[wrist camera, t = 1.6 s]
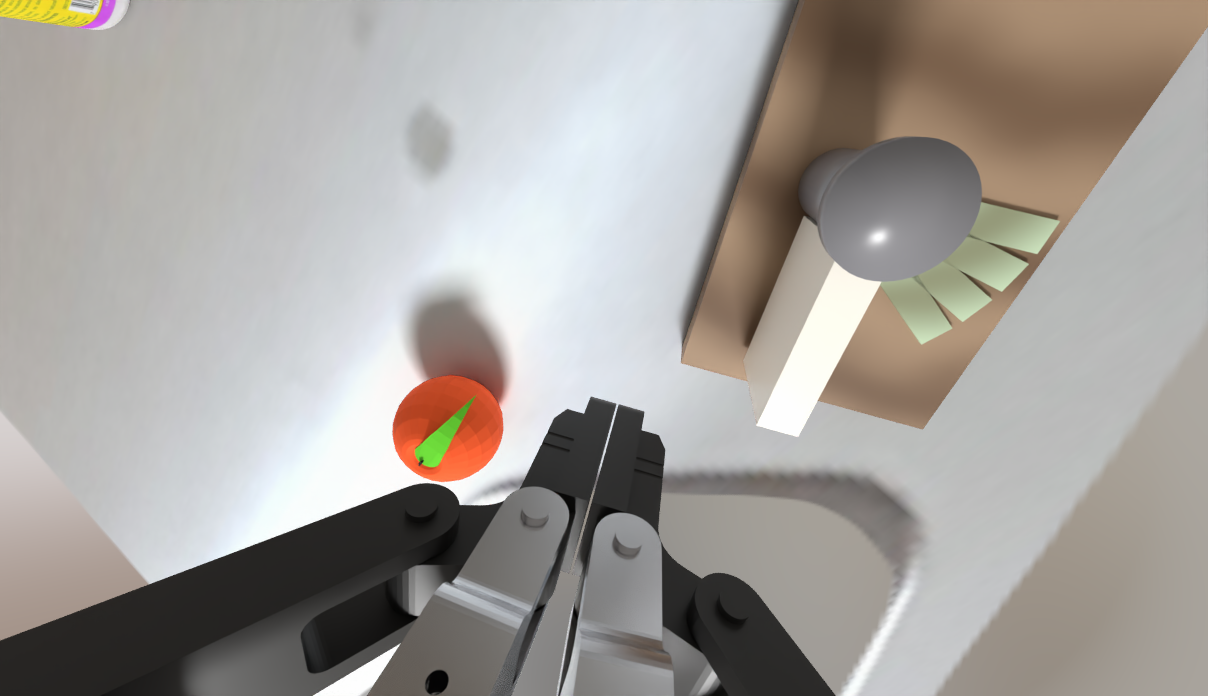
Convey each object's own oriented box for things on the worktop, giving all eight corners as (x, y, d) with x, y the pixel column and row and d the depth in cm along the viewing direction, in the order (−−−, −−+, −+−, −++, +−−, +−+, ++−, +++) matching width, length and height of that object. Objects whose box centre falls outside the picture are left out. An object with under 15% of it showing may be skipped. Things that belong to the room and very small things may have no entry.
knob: (808, 122, 19) (862, 121, 13) (910, 146, 19) (1015, 156, 13) (719, 351, 25) (728, 428, 19) (797, 372, 25) (833, 457, 18)
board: (822, -70, 18) (837, -94, 16) (1179, 3, 17) (1239, -12, 15) (682, 348, 28) (680, 364, 26) (907, 409, 27) (924, 431, 25)
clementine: (462, 328, 30) (401, 381, 24) (544, 389, 31) (506, 456, 25) (413, 399, 34) (349, 462, 27) (488, 452, 35) (443, 524, 28)
